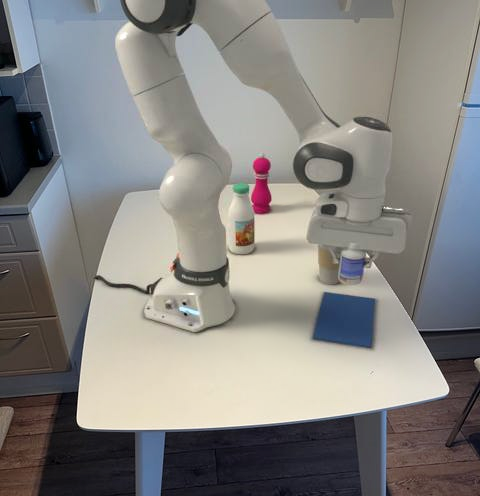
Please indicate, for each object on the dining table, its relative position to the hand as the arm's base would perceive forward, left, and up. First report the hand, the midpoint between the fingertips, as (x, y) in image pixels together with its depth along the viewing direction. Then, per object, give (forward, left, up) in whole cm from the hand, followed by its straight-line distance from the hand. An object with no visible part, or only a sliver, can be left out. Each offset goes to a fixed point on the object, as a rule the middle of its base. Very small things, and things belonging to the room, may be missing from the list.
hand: (351, 264), depth 106 cm
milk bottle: (-34, +33, -17) cm, 50 cm away
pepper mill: (-35, +63, -17) cm, 74 cm away
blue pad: (0, +4, -17) cm, 17 cm away
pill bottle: (0, 0, -4) cm, 4 cm away
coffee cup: (-6, +22, -17) cm, 28 cm away
